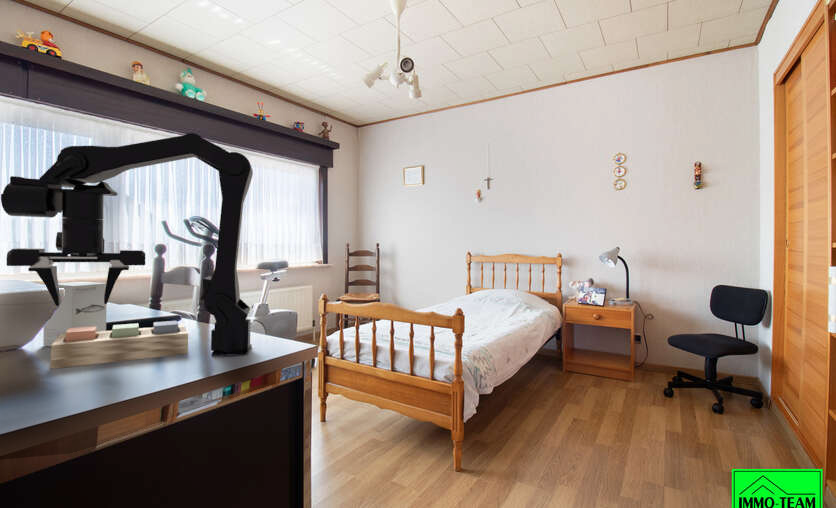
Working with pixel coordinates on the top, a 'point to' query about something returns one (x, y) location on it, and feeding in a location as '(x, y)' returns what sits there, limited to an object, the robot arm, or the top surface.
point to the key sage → (125, 330)
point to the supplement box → (77, 310)
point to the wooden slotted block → (117, 347)
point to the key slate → (165, 327)
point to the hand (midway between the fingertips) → (82, 304)
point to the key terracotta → (81, 333)
